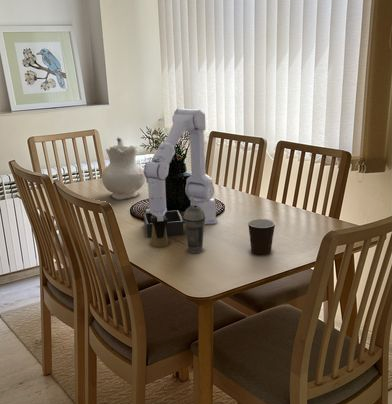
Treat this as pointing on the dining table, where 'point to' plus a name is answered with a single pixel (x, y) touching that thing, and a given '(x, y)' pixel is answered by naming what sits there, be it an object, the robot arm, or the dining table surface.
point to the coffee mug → (261, 236)
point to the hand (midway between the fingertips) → (159, 234)
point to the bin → (172, 226)
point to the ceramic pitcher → (123, 172)
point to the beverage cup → (194, 227)
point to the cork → (158, 241)
